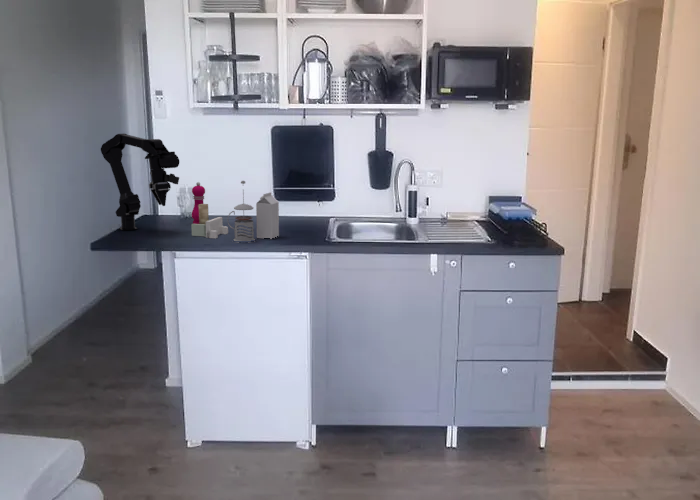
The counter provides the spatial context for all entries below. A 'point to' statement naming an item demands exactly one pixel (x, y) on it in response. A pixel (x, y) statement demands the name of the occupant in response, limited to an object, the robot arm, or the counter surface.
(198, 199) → the pepper mill
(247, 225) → the french press
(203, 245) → the counter surface
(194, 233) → the cradle
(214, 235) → the backstop wall
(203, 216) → the dowel
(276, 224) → the milk carton
